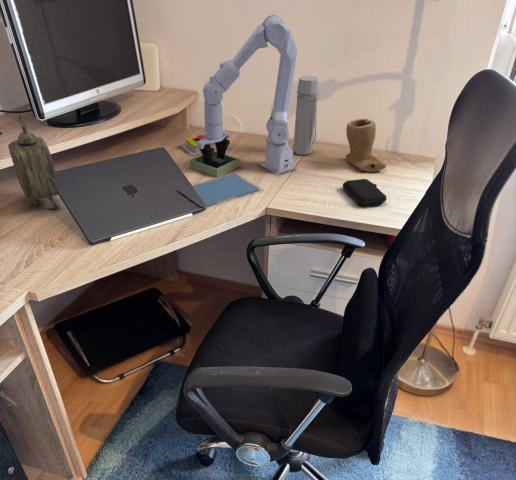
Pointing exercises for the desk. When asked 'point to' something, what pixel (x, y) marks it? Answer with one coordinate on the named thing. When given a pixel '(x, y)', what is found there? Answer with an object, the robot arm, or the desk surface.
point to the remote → (217, 162)
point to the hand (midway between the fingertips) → (214, 163)
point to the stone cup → (362, 145)
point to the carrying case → (364, 192)
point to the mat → (223, 189)
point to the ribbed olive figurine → (33, 165)
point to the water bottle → (306, 115)
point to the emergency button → (195, 145)
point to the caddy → (198, 165)
